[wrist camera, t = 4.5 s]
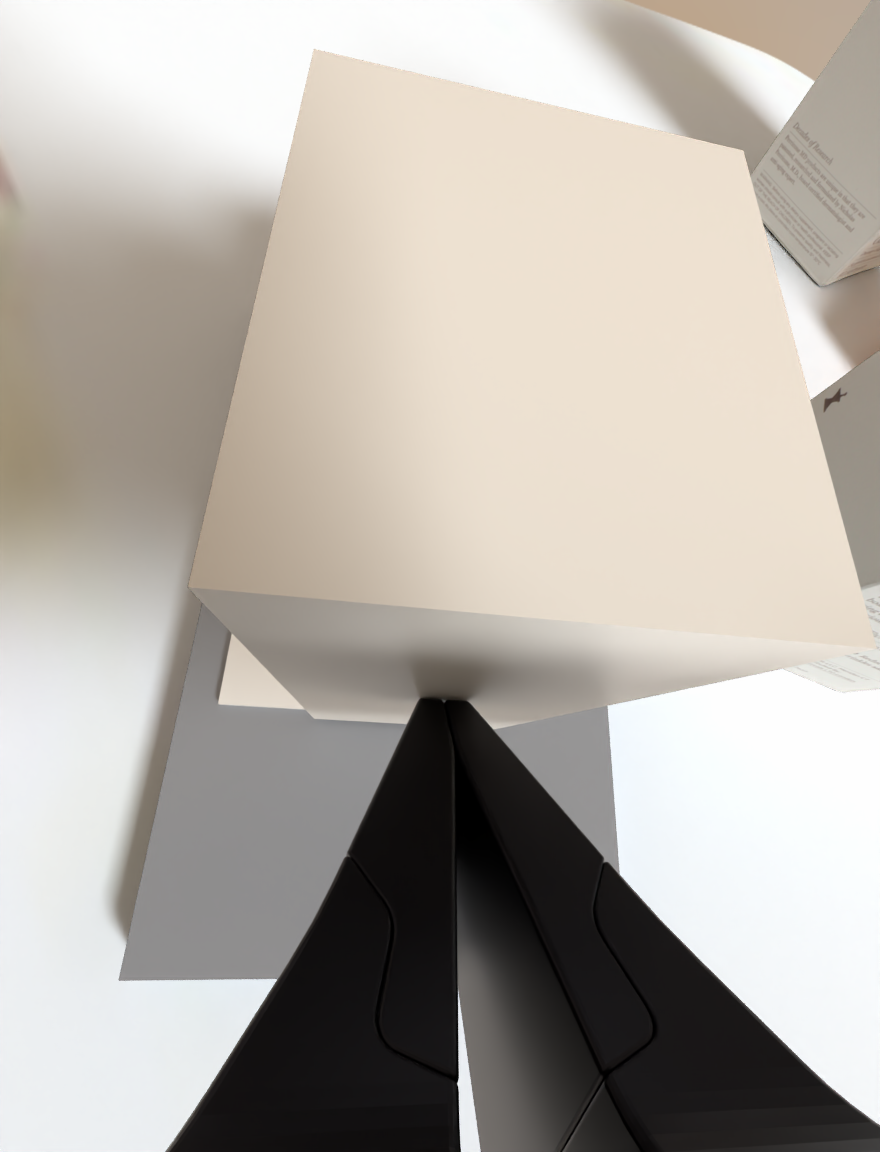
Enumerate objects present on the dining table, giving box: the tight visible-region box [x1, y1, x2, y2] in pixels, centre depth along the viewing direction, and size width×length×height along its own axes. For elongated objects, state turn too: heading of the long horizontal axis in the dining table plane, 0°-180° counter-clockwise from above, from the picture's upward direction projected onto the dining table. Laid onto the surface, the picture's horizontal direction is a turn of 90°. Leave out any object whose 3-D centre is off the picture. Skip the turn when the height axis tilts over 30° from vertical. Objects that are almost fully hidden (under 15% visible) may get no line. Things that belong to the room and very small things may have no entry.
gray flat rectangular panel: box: [119, 603, 619, 981], centre depth 16 cm, size 21×12×1 cm, turn 176°
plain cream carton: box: [188, 49, 877, 729], centre depth 10 cm, size 10×8×11 cm
